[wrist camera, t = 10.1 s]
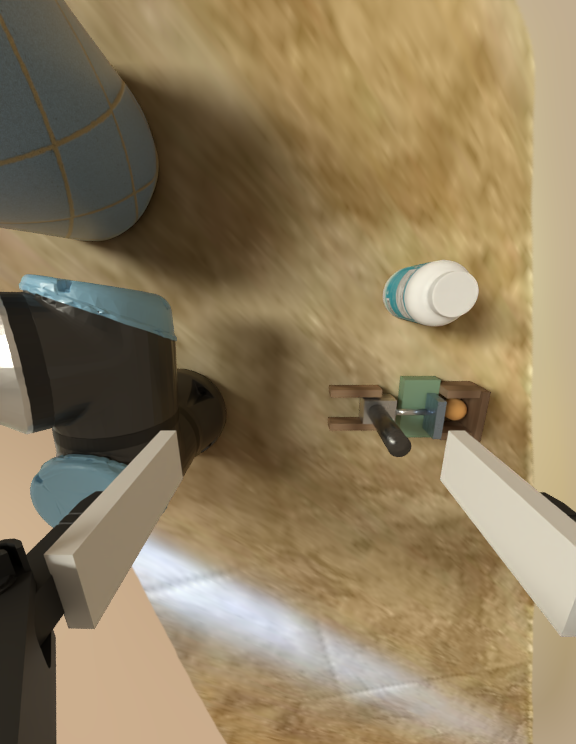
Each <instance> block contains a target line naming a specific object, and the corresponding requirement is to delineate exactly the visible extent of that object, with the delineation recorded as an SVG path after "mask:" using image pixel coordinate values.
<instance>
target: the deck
mask: <svg viewBox="0 0 576 744" xmlns="http://www.w3.org/2000/svg"><path fill="white" fill-rule="evenodd" d="M440 383H441V380H440V379H438V378H437V377H435V376H400V385H399V394H398V404H397V409H425V404H426V397H427V393H436V394H437V395H438V396H439V389H440ZM423 419H424V415H396V424H397V425H398V426H399V428H400V429H401V430H402V432H403V433H404V434H405V436H406V437H431V436H430V435H429V434H428V433H427V432H426V431H425V430H424V429H423V428H422V426H423Z"/></svg>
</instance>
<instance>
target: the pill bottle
mask: <svg viewBox="0 0 576 744" xmlns="http://www.w3.org/2000/svg"><path fill="white" fill-rule="evenodd" d="M478 290H479V289H478V284H477V281H476V280H475V278H474V277H473V276H472V275H471V274H469V272H468V271H467V270H466V268H464V267H463V266H462V265H460V264H458V263H456V262H454V261H449V260H439V261H434V262H429V263H425V264H420V265H415V266H411V267H406V268H403V269H400V270H399V271H397V272H395V273H394V274H393V275H392V276H391V277H390V278H389V279H388V281H387V282H386V284H385V287H384V290H383V302H384V305H385V307H386V309H387V310H388V311H389V312H390V313H391V314H392V315H393V316H395V317H397V318H400V319H404V320H408V321H412V322H415V323H419V324H423V325H427V326H443V325H446V324H449V323H451V322H453V321H455V320H456V319H458V318H459V317H460V316H461V315H463V314H465V313H466V312H468V311H469V310H470V309H471V308H472V307H473V305H474V304H475V302H476V300H477V297H478Z"/></svg>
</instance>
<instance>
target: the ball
mask: <svg viewBox="0 0 576 744" xmlns="http://www.w3.org/2000/svg"><path fill="white" fill-rule="evenodd" d="M445 401H446V402H447V405H446V411H445V417H446V418H448V419H450V420H460V419H462V418H463V417H464V416H465V415H466V413H467V407H466V404H465V403H464V402H463V401H462V400H460V399H458V398H449V399H446V400H445Z"/></svg>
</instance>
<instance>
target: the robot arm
mask: <svg viewBox="0 0 576 744" xmlns="http://www.w3.org/2000/svg"><path fill="white" fill-rule="evenodd" d="M19 287H20V289H21V290H23V292H0V425H3V426H6V427H9V428H11V429H14V430H17V431H19V432H22V433H25V434H30V433H34V432H38V431H42V430H46V429H50V428H52V431H53V436H54V442H55V446H56V451H57V454H56V457H54V458H52V459H50V460H49V461H47V462H45V463H44V464H43V465H42V467H41V469H40V471H39V472H38V474H37V475H36V476H35V477H34V478H33V480H32V483H31V487H30V495H31V499H32V502H33V505H34V507H35V509H36V510H37V512H38V513H39V515H40V516H41V517H42V518H43V519H44V520H45V521H46V522H47V523H48V524H49V525H50V526H52V527H53V529H52V530H51V531H50V532H49V533H48V534H47V535H46V536H45V537H44V538H43V539H42V540H41V541H40V542H39V543H38V544H37V545H36V546H35V547H34V548H33V549H32V550H31V551H30V552H29V553H28V554H27V555H26V553H25V551H24V548H23V545H22V542H21V541H20V540H17V539H4V540H1V541H0V744H56V644H55V643H56V637H55V634H54V631H53V628H54V627H55V625H56V624H57V623H58V621H59V620H60V618H61V617H62V616H63V614H64V616H65V619H66V622H67V625H68V628H78V629H79V628H81V629H95V627H96V626H97V624H98V622H99V621H100V619H101V617H102V615H103V614H104V612H105V610H106V609H107V607H108V605H109V604H110V602H111V600H112V598H113V597H114V595H115V593H116V591H117V590H118V588H119V587H120V585H121V583H122V581H123V580H124V578H125V576H126V574H127V573H128V571H129V569H130V568H131V566H132V564H133V563H134V561H135V559H136V558H137V556H138V554H139V552H140V551H141V549H142V547H143V546H144V544H145V542H146V541H147V539H148V537H149V535H150V534H151V532H152V530H153V529H154V527H155V525H156V524H157V522H158V520H159V518H160V517H161V515H162V513H163V512H164V511H165V509H166V508H167V505H168V503H169V501H170V500H171V498H172V496H173V495H174V493H175V491H176V489H177V488H178V486H179V484H180V483H181V481H182V479H183V476H184V475H185V473H186V471H187V469H188V468H189V466H190V464H191V463H192V461H193V459H194V457H196V456H198V455H199V454H200V453H202V452H204V451H205V450H207V449H208V448H210V447H211V446H212V445H213V444H214V443H215V442H216V440H217V439H218V437H219V436H220V434H221V432H222V430H223V428H224V425H225V421H226V407H225V403H224V400H223V397H222V395H221V394H220V392H219V390H218V389H217V388H216V387H215V385H214V384H213V383H212V382H211V381H209V380H208V379H207V378H205V377H204V376H202V375H200V374H198V373H196V372H193V371H190V370H186V369H177V363H176V344H175V341H177V337H176V336H175V335H174V326H173V317H172V310H171V307H170V305H169V303H168V302H167V301H166V300H165V299H164V298H163V297H161V296H159V295H157V294H153V293H148V292H142V291H137V290H131V289H125V288H118V287H112V286H106V285H99V284H93V283H86V282H79V281H71V280H65V279H58V278H53V277H47V276H40V275H32V274H27V275H24V276H23V277H22V280H21V282H20V284H19ZM440 480H441V481H442V483H443V484H444V485H445V487H446V488H447V489H448V490H449V492H450V493H451V494H452V496H453V497H454V498H455V500H456V501H457V502H458V503H459V505H460V506H461V507H462V509H463V510H464V511H465V513H466V514H467V515H468V517H469V518H470V519H471V520H472V522H473V523H474V524H475V526H476V527H477V528H478V530H479V531H480V532H481V533H482V535H483V536H484V537H485V539H486V540H487V541H488V543H489V544H490V545H491V546H492V548H493V549H494V550H495V552H496V553H497V554H498V556H499V557H500V558H501V559H502V561H503V562H504V563H505V565H506V566H507V567H508V569H509V570H510V571H511V572H512V574H513V575H514V576H515V578H516V579H517V580H518V582H519V583H520V584H521V585H522V587H523V588H524V589H525V591H526V592H527V593H528V595H529V596H530V597H531V598H532V600H533V601H534V602H535V604H536V605H537V606H538V608H539V609H540V610H541V612H542V613H543V614H544V615H545V617H546V618H547V619H548V621H549V622H550V623H551V625H552V626H553V627H554V628H555V630H556V631H557V632H558V634H559V635H560V636H562V637H564V636H565V637H576V512H574V511H573V510H572V509H571V508H569V507H568V506H567V505H565V504H564V503H563V502H561V501H559V500H557V499H555V498H554V497H552V496H550V495H548V494H546V493H544V492H543V493H542V492H538V491H537V490H536V489H535V488H534V487H532V486H531V485H530V484H529V483H528V482H526V481H525V480H524V479H523V478H521V477H520V476H519V475H518V474H517V473H515V472H514V471H513V470H512V469H511V468H509V467H508V466H507V465H506V464H505V463H503V462H502V461H501V460H500V459H498V458H497V457H496V456H495V455H494V454H492V453H491V452H490V451H489V450H488V449H486V448H485V447H484V446H483V445H482V444H480V443H479V442H478V441H477V440H476V439H474V438H473V437H472V436H471V435H469V434H468V433H467V432H466V431H448V436H447V442H446V448H445V454H444V460H443V466H442V471H441V477H440Z"/></svg>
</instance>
